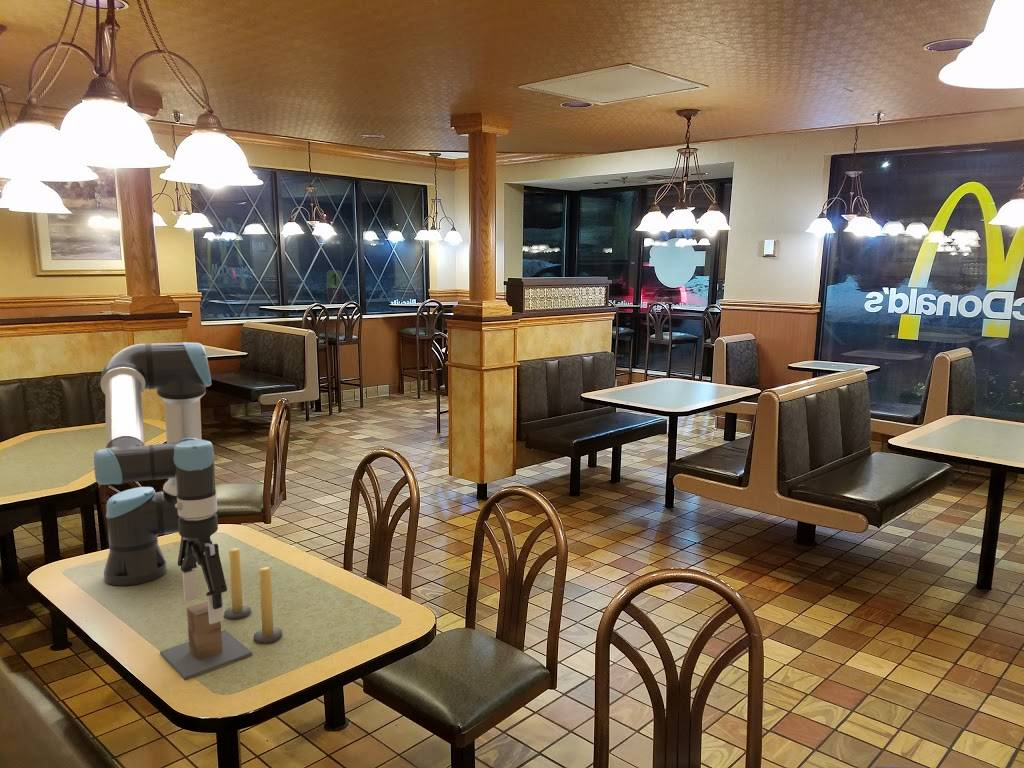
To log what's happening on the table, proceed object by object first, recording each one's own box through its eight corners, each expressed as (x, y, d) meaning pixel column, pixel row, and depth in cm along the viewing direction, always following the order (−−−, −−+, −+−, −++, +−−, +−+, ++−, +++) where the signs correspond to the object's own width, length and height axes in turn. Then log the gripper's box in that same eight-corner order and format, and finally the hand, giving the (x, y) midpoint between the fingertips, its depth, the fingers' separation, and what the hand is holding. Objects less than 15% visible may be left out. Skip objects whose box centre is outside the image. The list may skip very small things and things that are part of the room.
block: (189, 651, 152) (186, 607, 151) (212, 643, 156) (210, 600, 154) (198, 660, 149) (195, 615, 147) (222, 652, 152) (219, 607, 151)
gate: (220, 613, 171) (216, 549, 169) (244, 605, 175) (241, 543, 173) (261, 646, 156) (257, 576, 153) (286, 637, 160) (283, 569, 158)
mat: (160, 654, 152) (160, 651, 152) (225, 632, 162) (224, 629, 162) (184, 679, 142) (184, 677, 142) (252, 654, 152) (252, 652, 152)
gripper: (157, 504, 154) (164, 596, 157) (203, 535, 137) (208, 638, 140) (193, 497, 159) (198, 586, 163) (241, 526, 142) (246, 625, 145)
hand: (203, 610), depth 151 cm, fingers open, 13 cm apart
